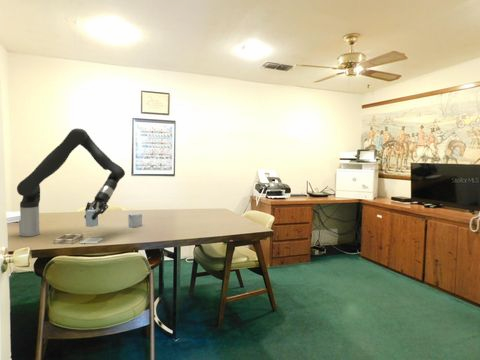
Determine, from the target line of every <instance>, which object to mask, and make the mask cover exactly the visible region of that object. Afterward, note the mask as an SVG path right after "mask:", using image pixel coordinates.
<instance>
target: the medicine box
mask: <svg viewBox="0 0 480 360" xmlns="http://www.w3.org/2000/svg"><path fill="white" fill-rule="evenodd" d="M127 217H128V218H127V219H128V228H130V229H133V228H138V227H142V226H143V214H142V213H138V212H137V213H131V214H128V216H127Z"/></svg>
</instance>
